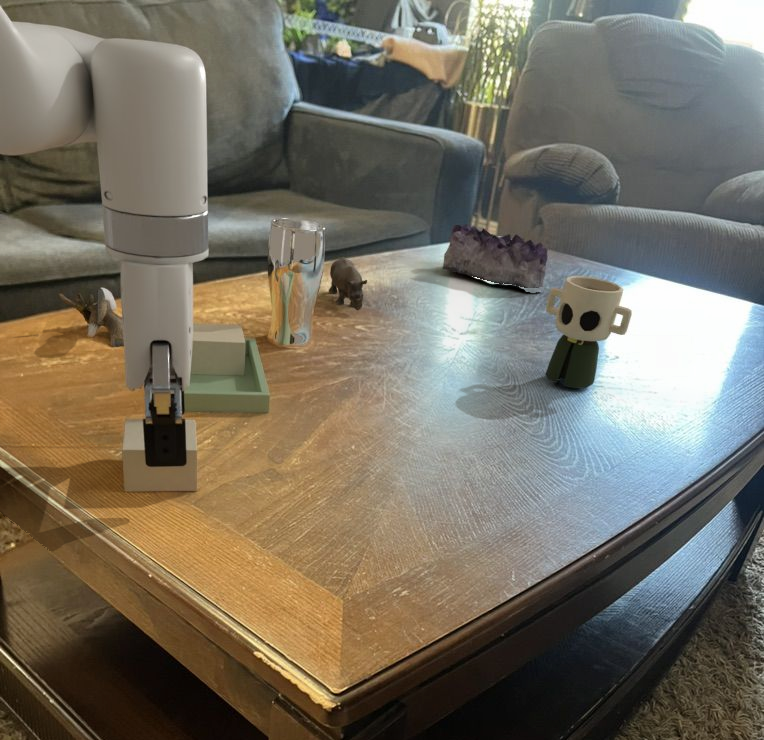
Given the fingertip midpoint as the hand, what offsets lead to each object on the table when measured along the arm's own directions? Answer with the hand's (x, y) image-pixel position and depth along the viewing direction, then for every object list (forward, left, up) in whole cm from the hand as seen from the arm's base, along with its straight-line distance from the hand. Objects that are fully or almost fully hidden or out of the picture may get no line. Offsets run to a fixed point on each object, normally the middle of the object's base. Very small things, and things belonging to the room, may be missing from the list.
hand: (166, 438), depth 67 cm
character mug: (+50, +24, -4) cm, 56 cm away
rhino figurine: (+26, +53, -4) cm, 60 cm away
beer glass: (+15, +35, -4) cm, 39 cm away
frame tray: (+5, +21, -4) cm, 22 cm away
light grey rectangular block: (-1, 0, -4) cm, 4 cm away
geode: (+57, +73, -4) cm, 93 cm away
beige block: (+5, +25, -3) cm, 26 cm away
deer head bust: (-8, +34, -4) cm, 35 cm away
